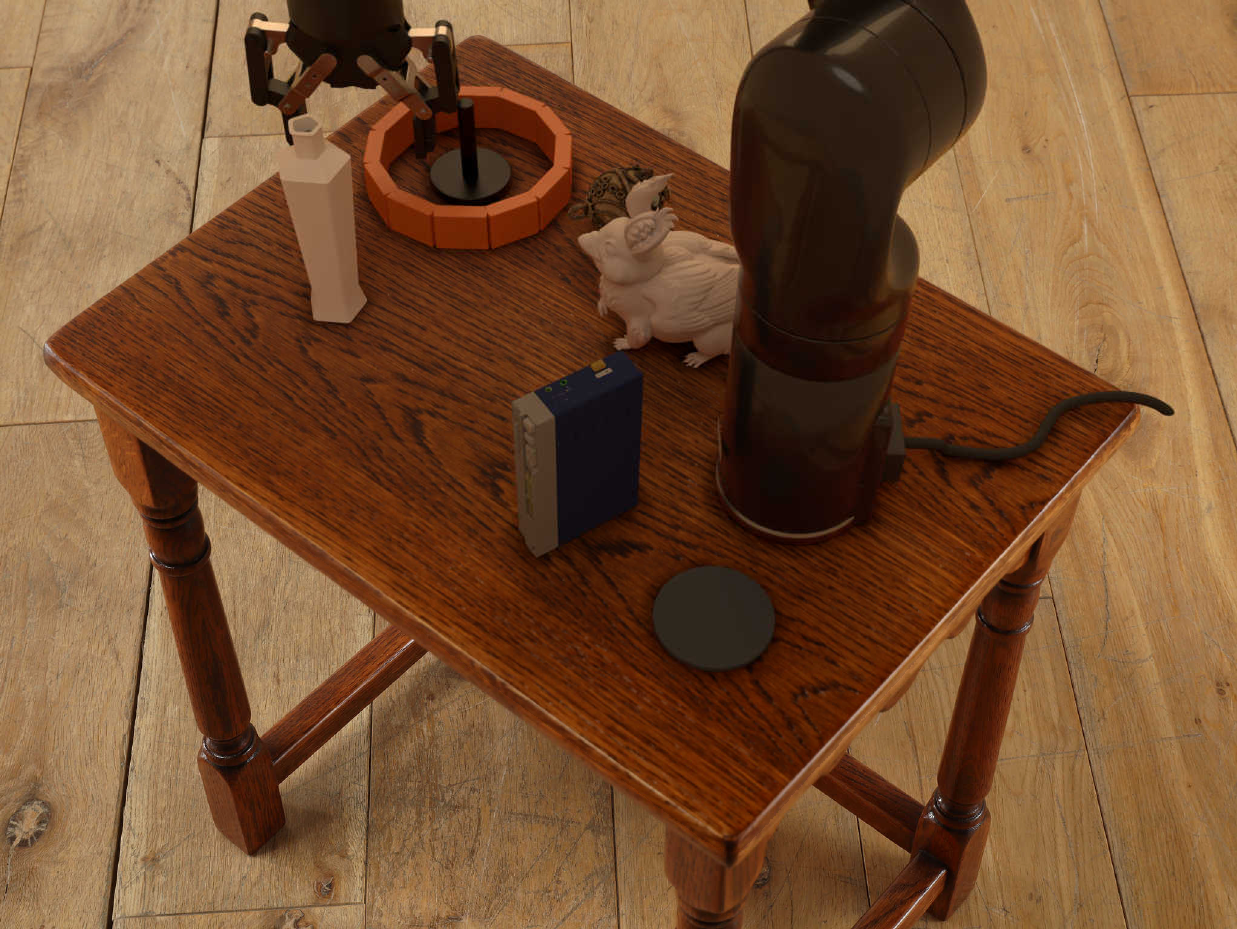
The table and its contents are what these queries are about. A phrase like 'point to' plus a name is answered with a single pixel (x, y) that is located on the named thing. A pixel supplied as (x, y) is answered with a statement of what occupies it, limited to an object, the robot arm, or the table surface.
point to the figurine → (664, 278)
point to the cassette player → (578, 451)
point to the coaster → (713, 618)
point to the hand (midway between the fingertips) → (363, 149)
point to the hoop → (472, 222)
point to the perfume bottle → (323, 218)
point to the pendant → (615, 195)
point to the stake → (469, 167)
